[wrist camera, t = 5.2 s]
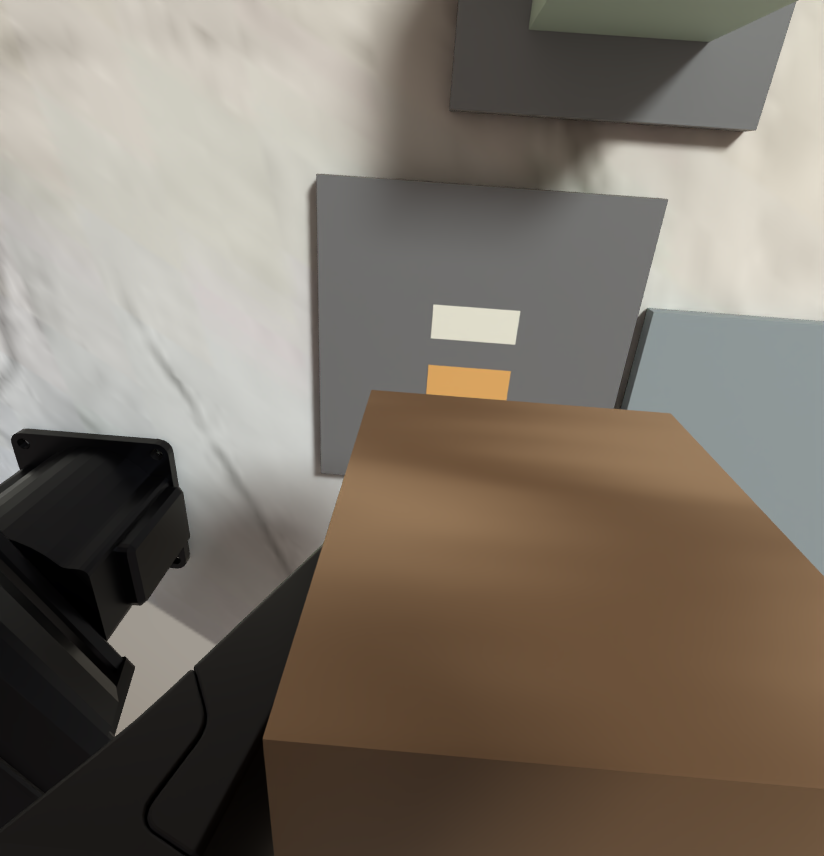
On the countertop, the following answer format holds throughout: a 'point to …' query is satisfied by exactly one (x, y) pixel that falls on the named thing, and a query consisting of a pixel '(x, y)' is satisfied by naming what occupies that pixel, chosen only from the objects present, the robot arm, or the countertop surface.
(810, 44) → the countertop surface
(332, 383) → the code tile
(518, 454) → the walnut block
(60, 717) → the robot arm
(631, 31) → the sage block
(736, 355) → the slate mat
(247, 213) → the countertop surface
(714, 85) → the code tile
